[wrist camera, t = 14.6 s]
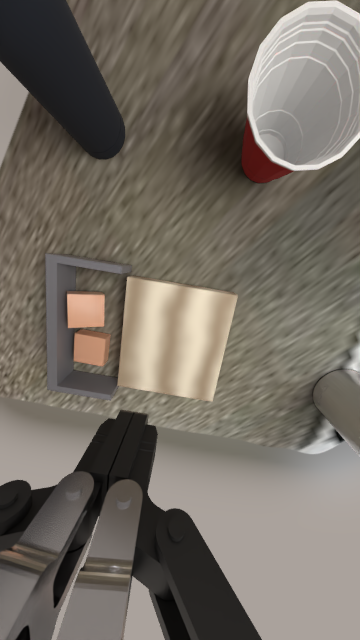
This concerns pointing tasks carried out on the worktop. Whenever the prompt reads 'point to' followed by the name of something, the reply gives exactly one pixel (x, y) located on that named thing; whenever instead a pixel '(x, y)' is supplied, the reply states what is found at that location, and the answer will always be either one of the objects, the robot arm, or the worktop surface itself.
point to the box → (62, 337)
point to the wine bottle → (60, 72)
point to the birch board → (174, 337)
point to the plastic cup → (304, 92)
